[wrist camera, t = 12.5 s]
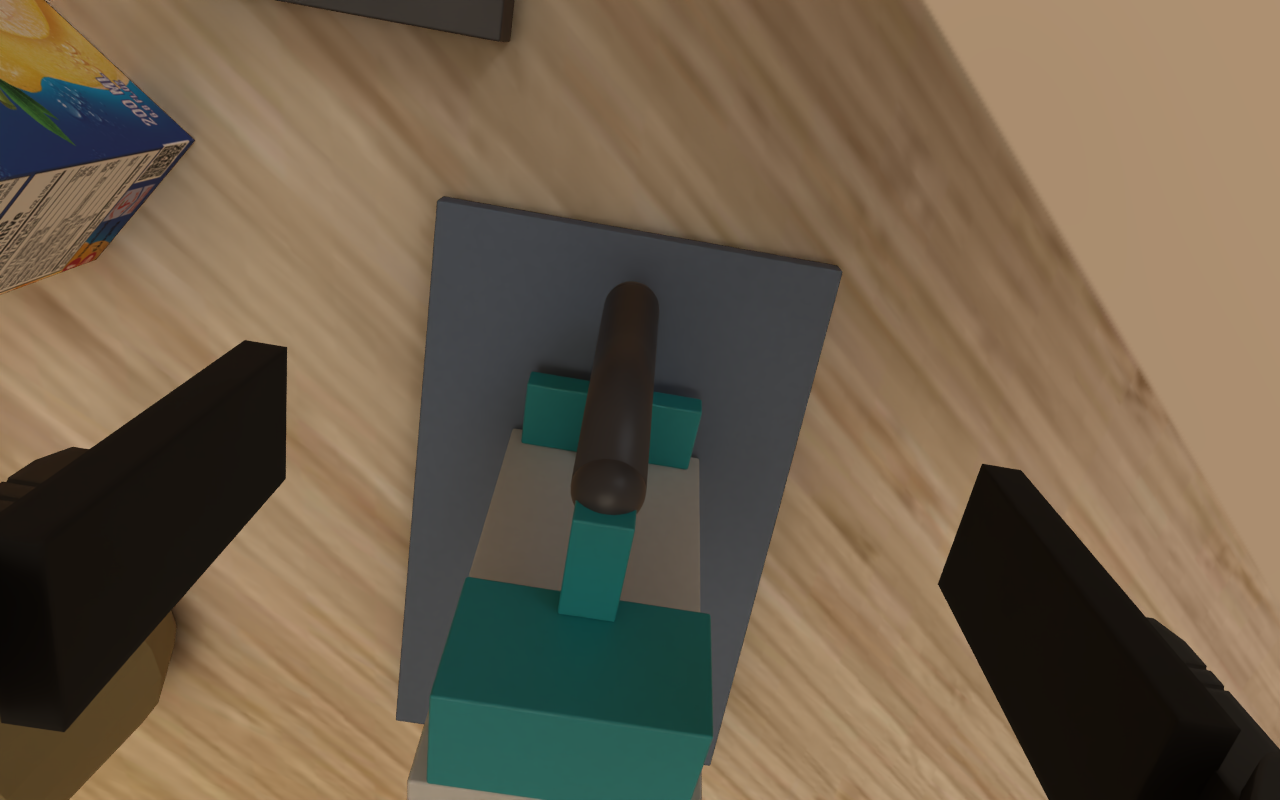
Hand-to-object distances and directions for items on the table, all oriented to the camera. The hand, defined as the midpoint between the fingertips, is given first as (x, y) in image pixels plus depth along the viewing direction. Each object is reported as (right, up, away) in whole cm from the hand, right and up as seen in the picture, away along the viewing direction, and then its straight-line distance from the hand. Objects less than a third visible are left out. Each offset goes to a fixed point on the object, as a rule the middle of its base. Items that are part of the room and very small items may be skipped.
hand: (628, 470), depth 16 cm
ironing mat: (-2, -4, +23) cm, 23 cm away
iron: (-2, -6, +14) cm, 15 cm away
